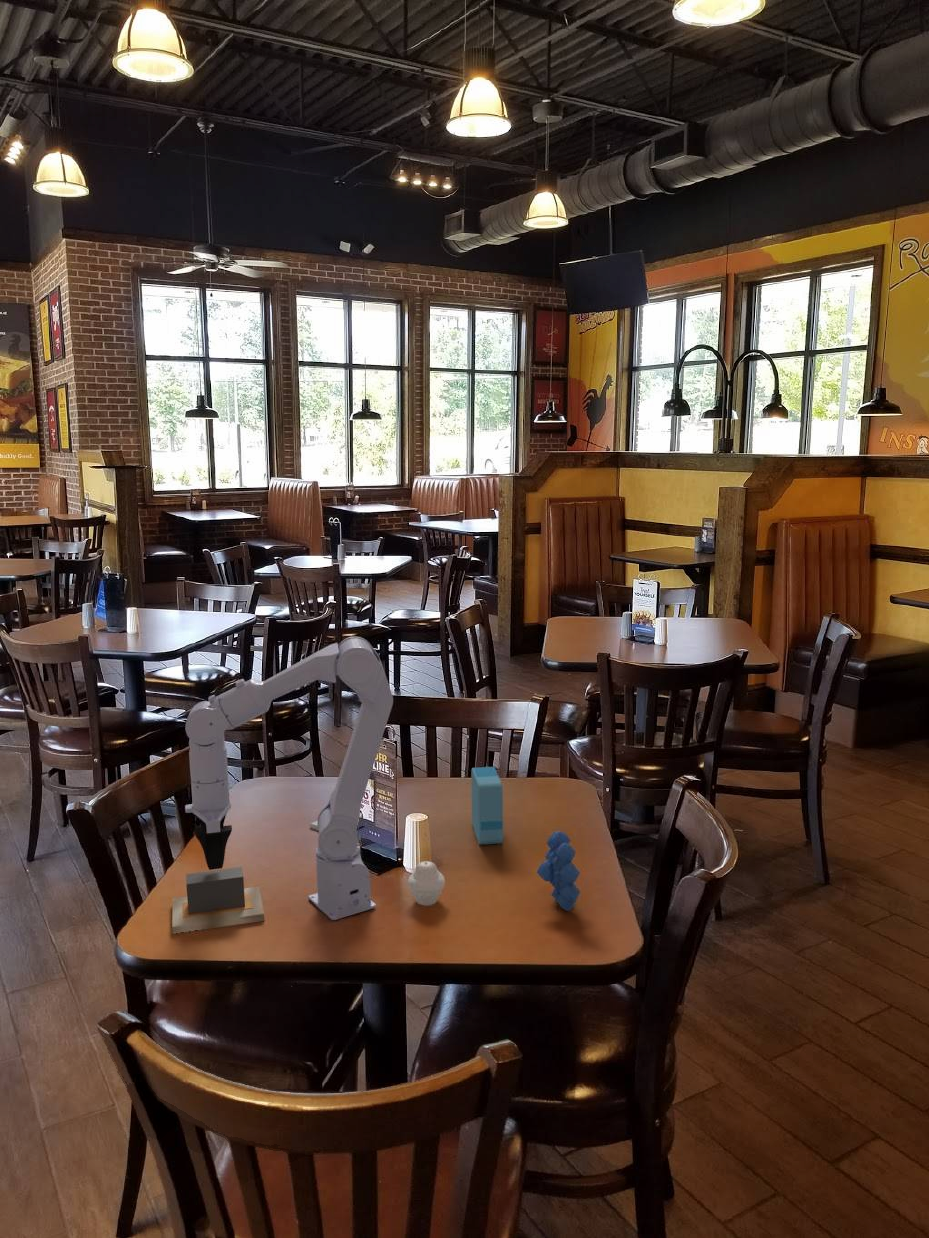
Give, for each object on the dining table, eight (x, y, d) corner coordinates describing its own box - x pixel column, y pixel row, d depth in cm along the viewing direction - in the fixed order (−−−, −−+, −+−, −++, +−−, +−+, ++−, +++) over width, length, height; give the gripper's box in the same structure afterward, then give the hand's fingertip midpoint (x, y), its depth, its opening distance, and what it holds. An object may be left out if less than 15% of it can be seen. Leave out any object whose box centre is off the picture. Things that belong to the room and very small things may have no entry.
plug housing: (188, 914, 151) (186, 884, 150) (188, 903, 155) (186, 874, 154) (245, 906, 153) (243, 876, 152) (243, 896, 157) (241, 866, 156)
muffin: (432, 913, 153) (431, 872, 152) (400, 904, 156) (399, 864, 155) (452, 897, 158) (451, 858, 157) (421, 889, 162) (421, 850, 160)
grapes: (527, 889, 161) (527, 822, 159) (565, 885, 162) (566, 819, 160) (546, 923, 150) (546, 851, 148) (587, 918, 151) (588, 847, 149)
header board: (259, 892, 161) (258, 869, 160) (264, 920, 151) (263, 896, 151) (173, 905, 157) (171, 881, 156) (172, 934, 148) (170, 909, 147)
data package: (503, 846, 179) (502, 785, 177) (479, 847, 178) (478, 786, 176) (494, 821, 190) (493, 764, 188) (471, 822, 190) (471, 765, 188)
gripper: (182, 765, 156) (188, 843, 158) (183, 796, 142) (189, 881, 145) (227, 761, 158) (231, 838, 160) (231, 791, 144) (236, 874, 147)
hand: (214, 858), depth 153 cm, fingers open, 7 cm apart
